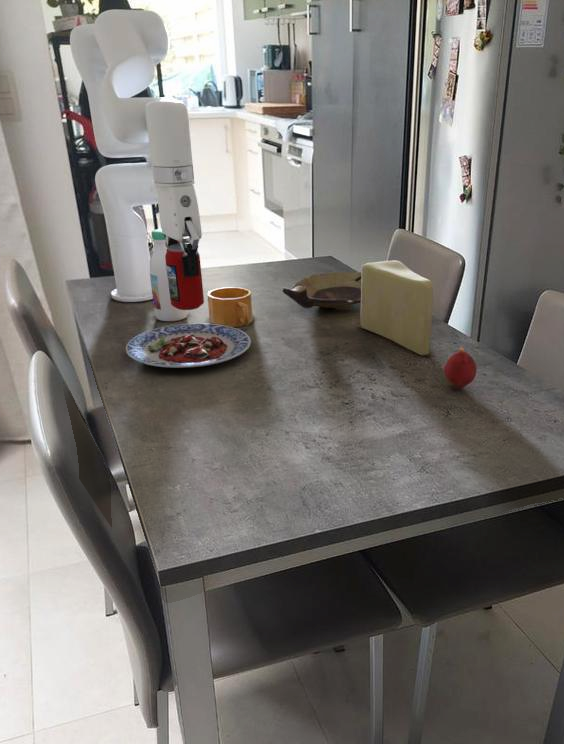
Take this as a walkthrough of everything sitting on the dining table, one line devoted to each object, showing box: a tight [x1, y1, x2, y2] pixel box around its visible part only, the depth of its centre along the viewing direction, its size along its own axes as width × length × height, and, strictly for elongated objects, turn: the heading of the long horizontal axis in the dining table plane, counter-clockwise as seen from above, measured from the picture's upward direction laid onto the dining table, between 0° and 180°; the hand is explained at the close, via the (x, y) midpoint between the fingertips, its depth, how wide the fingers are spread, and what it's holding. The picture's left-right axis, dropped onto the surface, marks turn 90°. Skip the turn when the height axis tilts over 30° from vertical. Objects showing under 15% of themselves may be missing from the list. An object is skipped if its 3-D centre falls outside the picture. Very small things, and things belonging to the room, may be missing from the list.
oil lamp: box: [281, 271, 362, 309], centre depth 174 cm, size 22×30×8 cm
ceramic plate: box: [125, 322, 252, 369], centre depth 146 cm, size 26×26×3 cm
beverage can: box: [165, 243, 205, 311], centre depth 140 cm, size 7×7×12 cm
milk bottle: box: [150, 228, 189, 322], centre depth 162 cm, size 8×8×20 cm
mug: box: [207, 286, 254, 328], centre depth 162 cm, size 14×10×6 cm
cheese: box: [360, 259, 434, 356], centre depth 150 cm, size 22×10×15 cm, turn 24°
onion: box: [444, 347, 478, 390], centre depth 129 cm, size 6×6×8 cm
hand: (183, 271), depth 139 cm, fingers closed on beverage can, 6 cm apart
